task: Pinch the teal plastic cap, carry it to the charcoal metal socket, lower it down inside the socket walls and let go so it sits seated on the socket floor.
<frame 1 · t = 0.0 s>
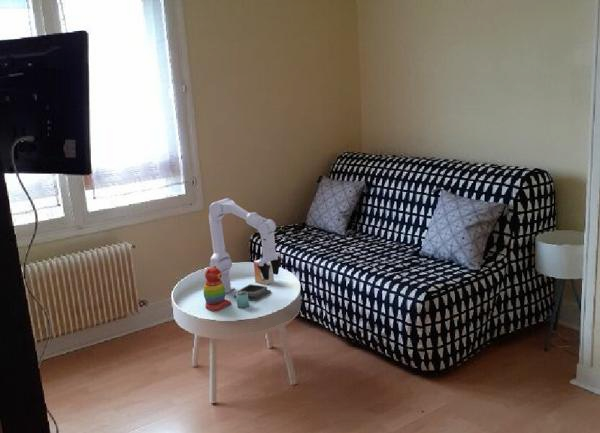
hand: (271, 276, 269), 10 cm above the table, tool pointing down, fingers open, 7 cm apart
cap: (243, 306, 264), on the table
small box: (264, 282, 293), on the table
socket: (252, 295, 277), on the table
stacking bear: (216, 306, 266), on the table
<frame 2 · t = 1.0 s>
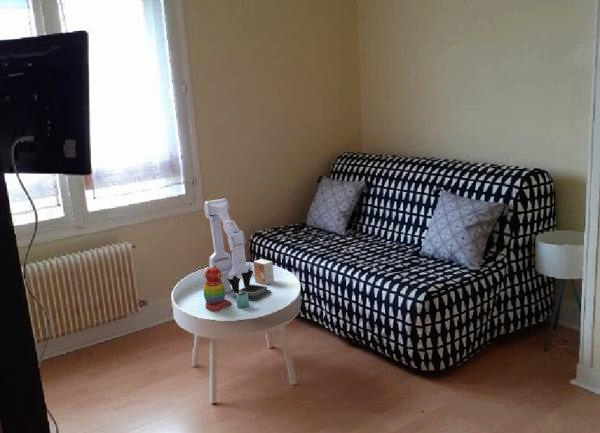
hand: (241, 289, 262), 8 cm above the table, tool pointing down, fingers open, 7 cm apart
nothing on the table moved.
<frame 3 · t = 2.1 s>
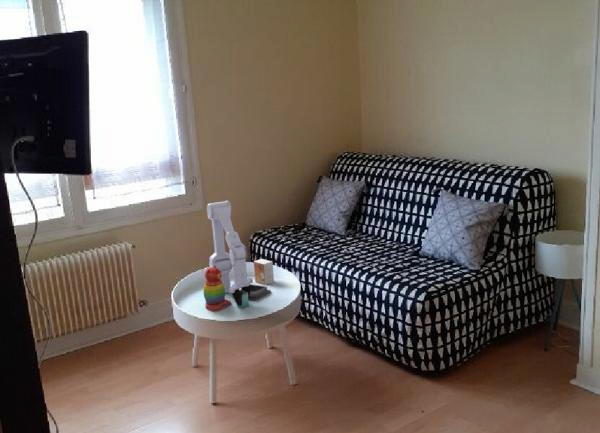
hand: (242, 303, 263), 1 cm above the table, tool pointing down, fingers closed on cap, 5 cm apart
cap: (243, 306, 264), on the table, touching gripper
everything else where it was.
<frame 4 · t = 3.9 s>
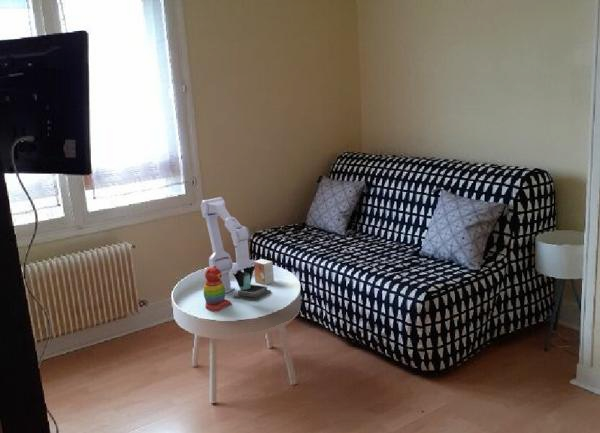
hand: (244, 284, 267), 8 cm above the table, tool pointing down, fingers closed on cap, 5 cm apart
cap: (245, 287, 267), point 7 cm above the table, touching gripper
everything else where it was.
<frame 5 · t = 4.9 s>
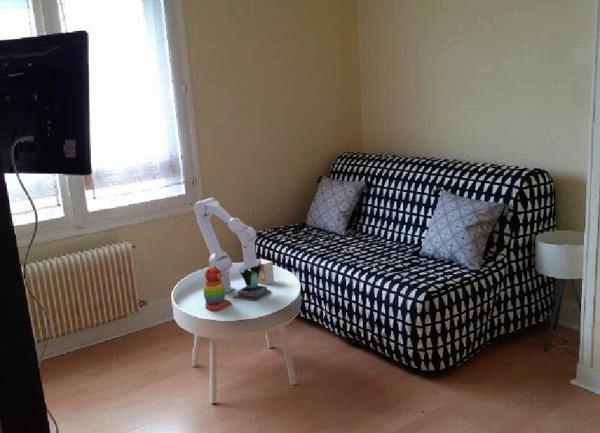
hand: (251, 283, 275), 6 cm above the table, tool pointing down, fingers closed on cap, 5 cm apart
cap: (252, 286, 276), point 4 cm above the table, touching gripper
everything else where it was.
when the fingers open (4 cm above the table, at t = 5.9 s): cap drops 1 cm, resting on socket.
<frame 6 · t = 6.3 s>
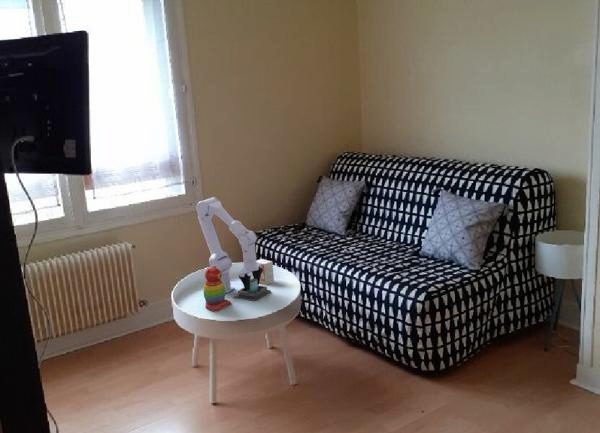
hand: (252, 286, 276), 4 cm above the table, tool pointing down, fingers open, 7 cm apart
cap: (252, 293, 276), point 1 cm above the table, touching socket
everything else where it was.
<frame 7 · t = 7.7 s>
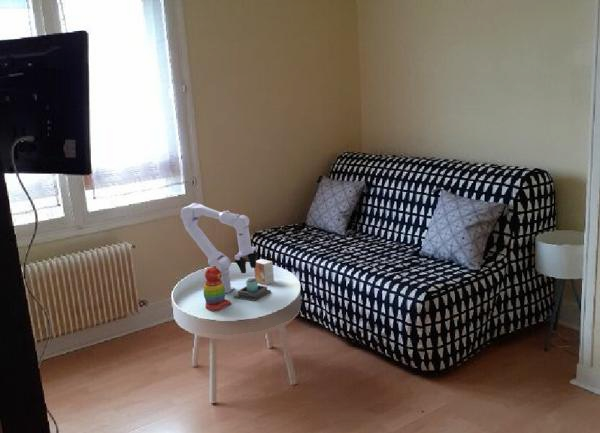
hand: (248, 270, 279), 10 cm above the table, tool pointing down, fingers open, 7 cm apart
nothing on the table moved.
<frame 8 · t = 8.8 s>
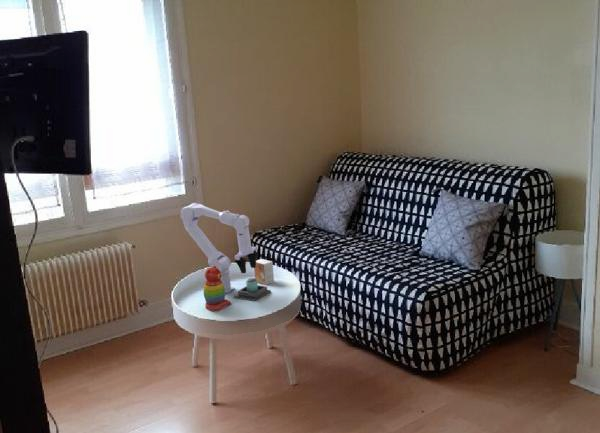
hand: (248, 270, 279), 10 cm above the table, tool pointing down, fingers open, 7 cm apart
nothing on the table moved.
at the end: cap 0.1 cm off-centre on the socket, point 1.0 cm above the socket's base; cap tilted 1°; the gripper is holding nothing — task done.
